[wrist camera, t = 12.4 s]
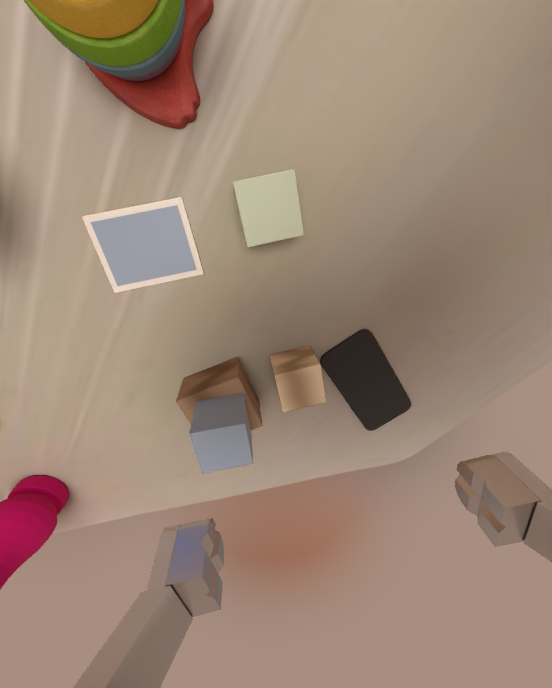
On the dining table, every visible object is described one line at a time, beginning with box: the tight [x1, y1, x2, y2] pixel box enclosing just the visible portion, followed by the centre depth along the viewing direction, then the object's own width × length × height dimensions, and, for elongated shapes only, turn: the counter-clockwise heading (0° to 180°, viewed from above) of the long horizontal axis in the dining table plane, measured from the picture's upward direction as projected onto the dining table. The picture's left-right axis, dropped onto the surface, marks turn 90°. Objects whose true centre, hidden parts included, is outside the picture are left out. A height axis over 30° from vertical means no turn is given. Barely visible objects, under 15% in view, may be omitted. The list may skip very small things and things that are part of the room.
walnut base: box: [176, 357, 262, 430], centre depth 33 cm, size 7×7×5 cm
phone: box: [320, 329, 411, 431], centre depth 38 cm, size 7×1×15 cm
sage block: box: [233, 169, 304, 247], centre depth 25 cm, size 5×5×5 cm
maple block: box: [270, 346, 326, 413], centre depth 33 cm, size 5×5×5 cm
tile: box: [82, 197, 204, 293], centre depth 27 cm, size 9×7×1 cm
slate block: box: [189, 393, 253, 474], centre depth 29 cm, size 5×5×5 cm
